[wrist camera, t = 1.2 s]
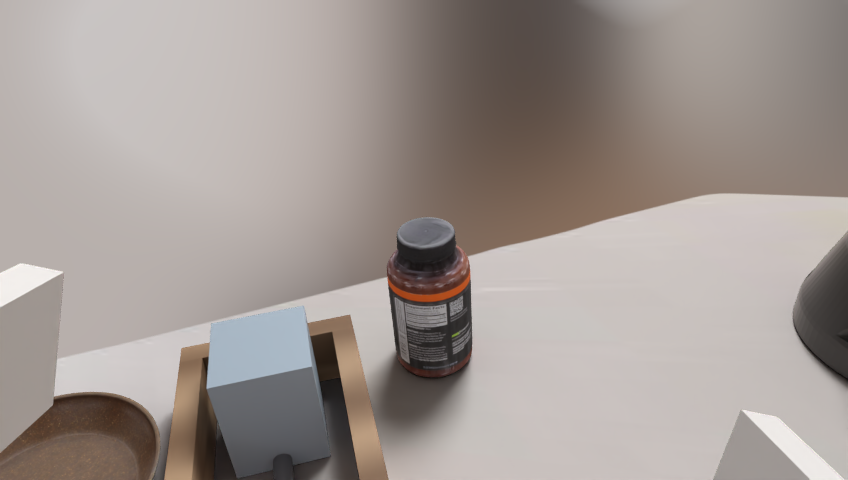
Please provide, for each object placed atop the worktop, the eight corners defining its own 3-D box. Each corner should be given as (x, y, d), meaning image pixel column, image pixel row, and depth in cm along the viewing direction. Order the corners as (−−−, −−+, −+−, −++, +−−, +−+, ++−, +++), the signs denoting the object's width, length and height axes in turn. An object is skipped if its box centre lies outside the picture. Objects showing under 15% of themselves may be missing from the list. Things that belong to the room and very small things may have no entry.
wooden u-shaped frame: (197, 393, 46) (181, 348, 43) (357, 359, 48) (350, 314, 45) (179, 600, 33) (154, 551, 30) (397, 541, 35) (391, 491, 33)
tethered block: (238, 409, 44) (191, 259, 37) (321, 391, 45) (290, 242, 38) (233, 757, 27) (144, 599, 20) (368, 715, 28) (328, 550, 21)
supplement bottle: (412, 323, 51) (402, 204, 45) (481, 336, 49) (480, 214, 43) (384, 372, 46) (368, 246, 40) (459, 389, 45) (454, 260, 39)
